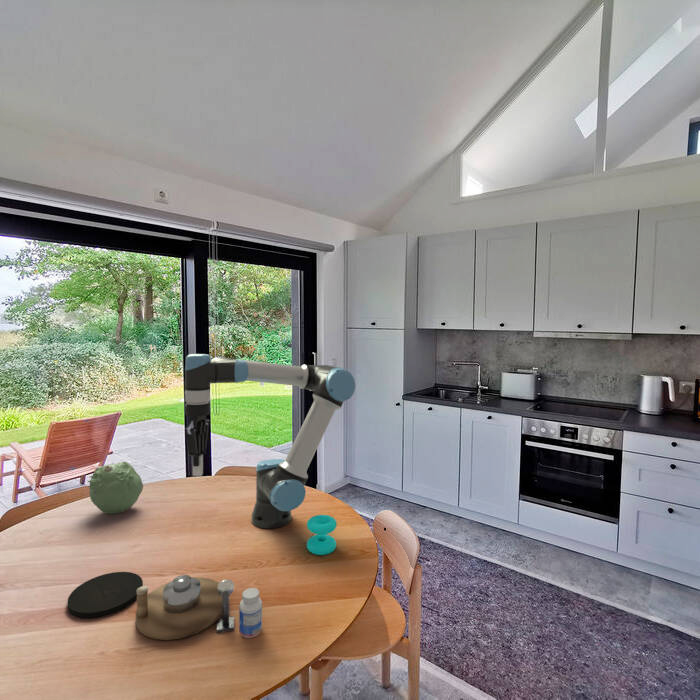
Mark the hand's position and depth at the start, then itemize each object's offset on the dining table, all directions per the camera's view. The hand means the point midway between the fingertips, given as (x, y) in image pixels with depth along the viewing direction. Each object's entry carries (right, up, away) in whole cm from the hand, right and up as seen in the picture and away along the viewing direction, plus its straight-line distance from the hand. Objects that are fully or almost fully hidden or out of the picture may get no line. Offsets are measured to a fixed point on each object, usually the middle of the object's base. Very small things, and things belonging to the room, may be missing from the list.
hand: (197, 474), depth 136 cm
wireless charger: (-18, -28, -20) cm, 39 cm away
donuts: (+39, -27, +7) cm, 48 cm away
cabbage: (-43, -24, +31) cm, 58 cm away
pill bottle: (+25, -29, -32) cm, 50 cm away
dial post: (+18, -29, -31) cm, 46 cm away
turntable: (+5, -28, -26) cm, 38 cm away
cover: (+5, -26, -26) cm, 37 cm away
